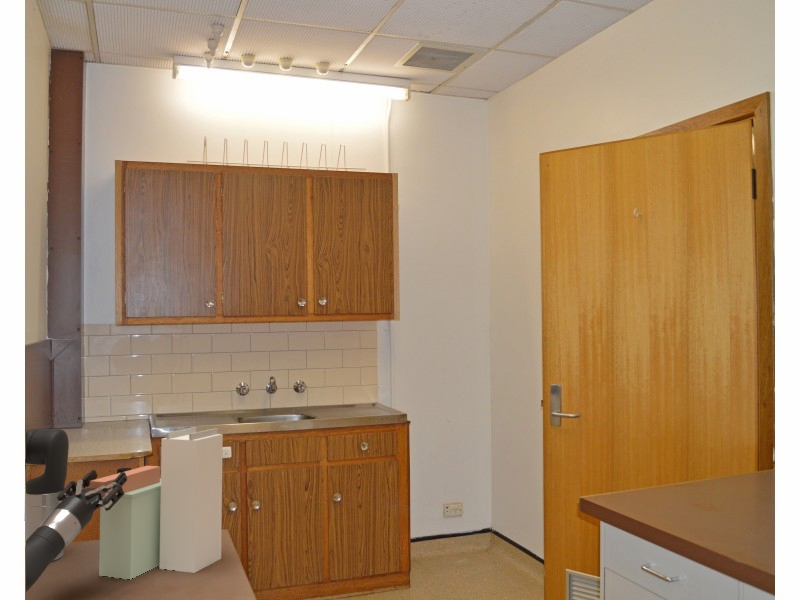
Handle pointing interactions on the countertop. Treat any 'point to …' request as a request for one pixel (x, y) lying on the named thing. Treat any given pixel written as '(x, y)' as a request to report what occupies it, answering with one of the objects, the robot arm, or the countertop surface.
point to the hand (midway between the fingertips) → (109, 473)
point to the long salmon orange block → (131, 479)
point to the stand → (191, 499)
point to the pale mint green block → (131, 534)
